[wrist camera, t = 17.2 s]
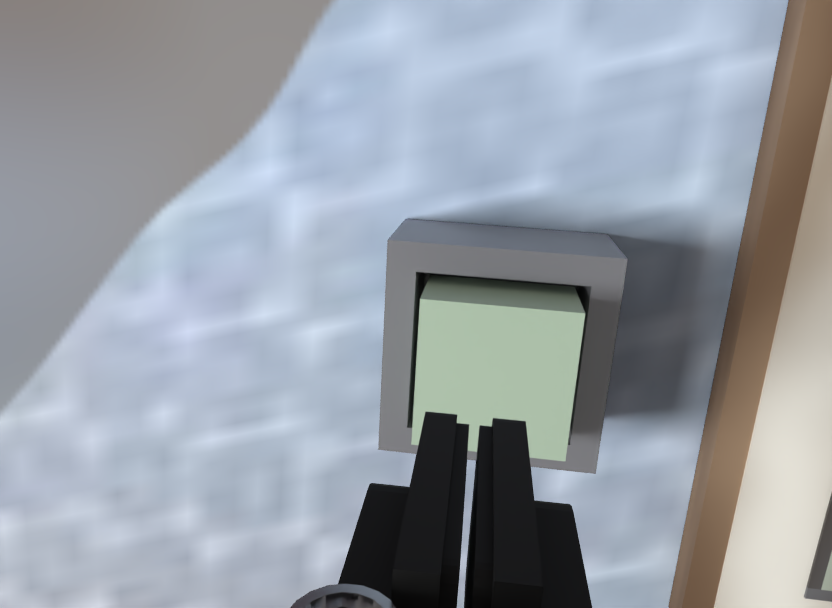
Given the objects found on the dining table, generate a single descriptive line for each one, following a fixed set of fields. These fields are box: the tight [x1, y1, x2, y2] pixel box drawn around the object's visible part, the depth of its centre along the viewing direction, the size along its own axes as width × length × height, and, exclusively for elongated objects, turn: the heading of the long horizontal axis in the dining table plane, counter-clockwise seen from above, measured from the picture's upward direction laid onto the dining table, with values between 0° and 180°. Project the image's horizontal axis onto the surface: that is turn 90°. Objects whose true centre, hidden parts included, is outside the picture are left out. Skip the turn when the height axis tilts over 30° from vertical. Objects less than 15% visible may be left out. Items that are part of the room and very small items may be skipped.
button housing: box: [378, 219, 628, 474], centre depth 20 cm, size 6×6×4 cm
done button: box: [411, 275, 585, 461], centre depth 18 cm, size 4×4×2 cm
